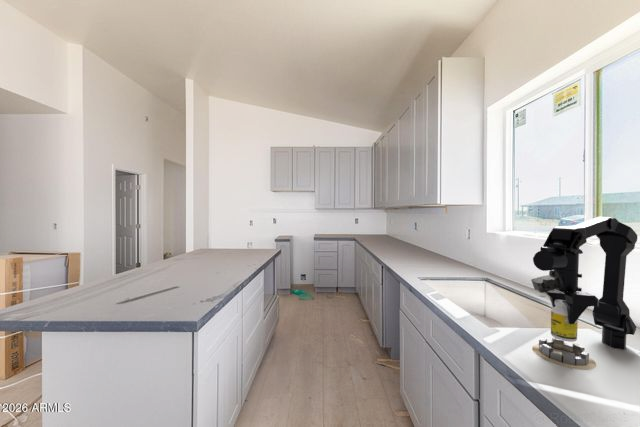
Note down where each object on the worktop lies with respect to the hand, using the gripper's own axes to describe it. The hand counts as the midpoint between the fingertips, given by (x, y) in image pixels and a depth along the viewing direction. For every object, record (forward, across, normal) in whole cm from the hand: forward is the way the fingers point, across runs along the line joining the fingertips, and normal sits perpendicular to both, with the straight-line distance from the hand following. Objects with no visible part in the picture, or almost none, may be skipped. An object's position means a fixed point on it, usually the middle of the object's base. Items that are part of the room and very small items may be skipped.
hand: (564, 319), depth 89 cm
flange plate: (+12, 0, 0) cm, 12 cm away
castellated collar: (+11, 0, 0) cm, 11 cm away
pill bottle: (+6, 0, 0) cm, 6 cm away
